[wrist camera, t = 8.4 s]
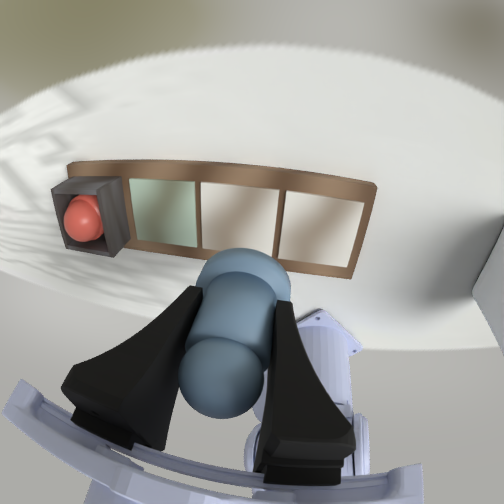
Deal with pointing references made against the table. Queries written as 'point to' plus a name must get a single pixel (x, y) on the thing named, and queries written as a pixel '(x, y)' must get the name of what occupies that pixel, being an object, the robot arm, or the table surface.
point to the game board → (222, 211)
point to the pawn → (232, 332)
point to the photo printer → (493, 291)
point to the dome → (83, 218)
